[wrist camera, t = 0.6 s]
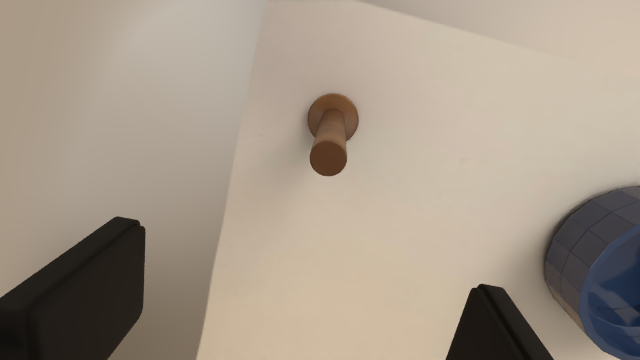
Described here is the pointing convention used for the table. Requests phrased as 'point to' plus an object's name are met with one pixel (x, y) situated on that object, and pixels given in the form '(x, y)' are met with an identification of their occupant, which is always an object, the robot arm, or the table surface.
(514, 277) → the table surface
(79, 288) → the robot arm
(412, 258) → the table surface
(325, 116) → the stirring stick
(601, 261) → the blue bowl
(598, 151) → the table surface
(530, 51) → the table surface
